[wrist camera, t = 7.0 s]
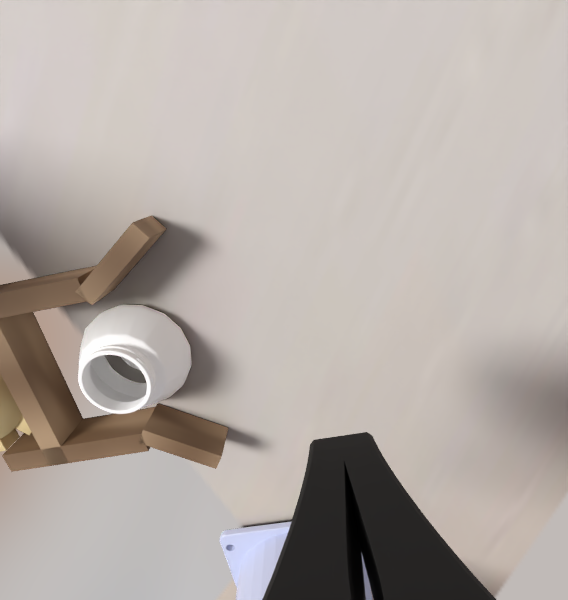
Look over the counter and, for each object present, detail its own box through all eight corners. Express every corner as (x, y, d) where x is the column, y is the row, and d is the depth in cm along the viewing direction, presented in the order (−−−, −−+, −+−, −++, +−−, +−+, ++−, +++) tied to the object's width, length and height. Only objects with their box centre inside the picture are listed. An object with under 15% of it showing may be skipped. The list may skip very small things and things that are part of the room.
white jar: (149, 410, 19) (214, 351, 18) (125, 452, 17) (200, 386, 15) (69, 347, 18) (133, 280, 17) (29, 381, 15) (101, 303, 14)
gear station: (231, 437, 20) (223, 473, 17) (-33, 477, 21) (-72, 516, 19) (161, 213, 16) (139, 221, 13) (-158, 280, 17) (-227, 299, 15)
